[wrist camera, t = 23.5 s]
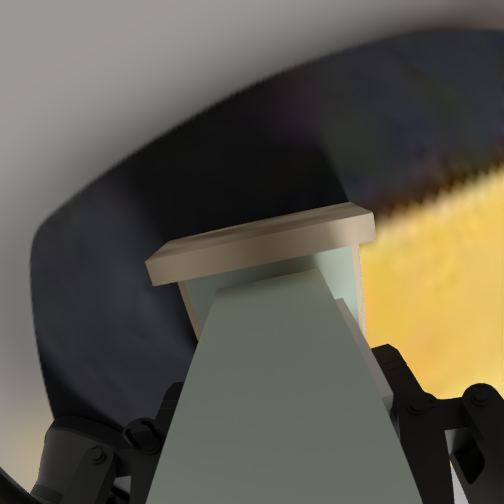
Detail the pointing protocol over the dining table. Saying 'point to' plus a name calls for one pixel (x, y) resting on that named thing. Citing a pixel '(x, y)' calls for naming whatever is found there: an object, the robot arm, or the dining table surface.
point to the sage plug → (280, 407)
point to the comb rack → (269, 257)
